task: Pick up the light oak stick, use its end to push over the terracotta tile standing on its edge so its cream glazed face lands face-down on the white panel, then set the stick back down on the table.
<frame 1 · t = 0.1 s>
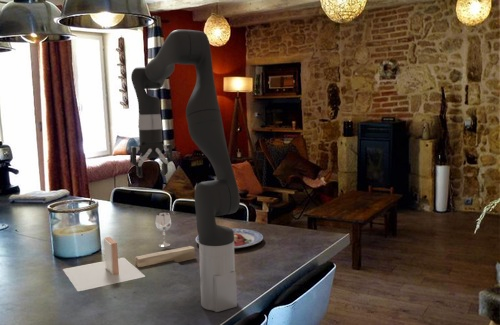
hand: (152, 176, 160), 29 cm above the table, tool pointing down, fingers open, 8 cm apart
white panel: (103, 275, 149), on the table
oak stick: (166, 263, 160), on the table
ceramic plate: (229, 243, 182), on the table
tile: (112, 270, 150), point 1 cm above the table, touching white panel
wineglass: (164, 245, 179), on the table
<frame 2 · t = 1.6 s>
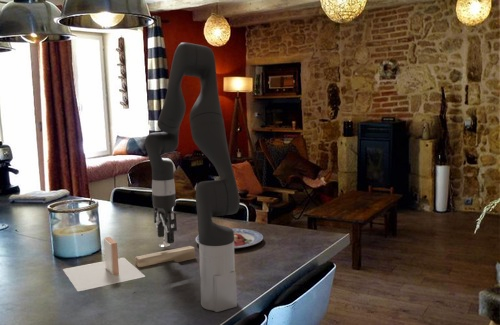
hand: (165, 239, 159), 8 cm above the table, tool pointing down, fingers open, 8 cm apart
nothing on the table moved.
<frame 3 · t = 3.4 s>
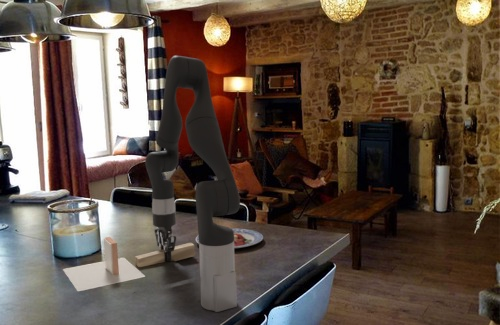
hand: (166, 260, 160), 1 cm above the table, tool pointing down, fingers closed on oak stick, 2 cm apart
oak stick: (166, 261, 160), on the table, touching gripper
everything else where it was.
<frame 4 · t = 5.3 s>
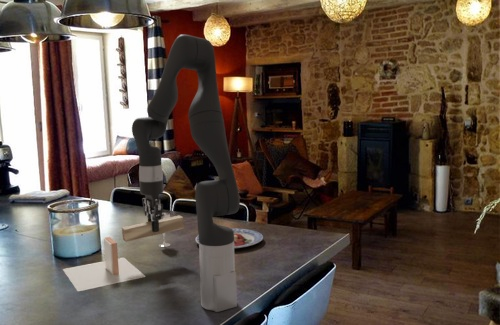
hand: (153, 230, 156), 12 cm above the table, tool pointing down, fingers closed on oak stick, 3 cm apart
oak stick: (154, 233, 156), point 11 cm above the table, touching gripper
everything else where it was.
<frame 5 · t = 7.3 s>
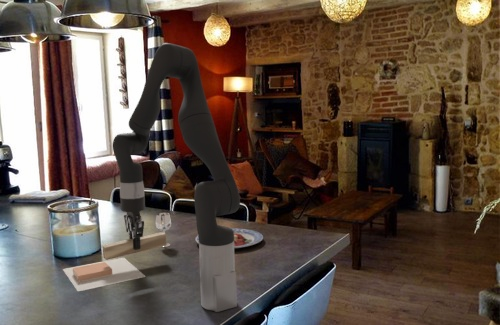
hand: (135, 247, 153), 7 cm above the table, tool pointing down, fingers closed on oak stick, 3 cm apart
oak stick: (135, 251, 154), point 6 cm above the table, touching gripper
tile: (108, 267, 149), point 2 cm above the table, tilted 90°, touching white panel
everything else where it was.
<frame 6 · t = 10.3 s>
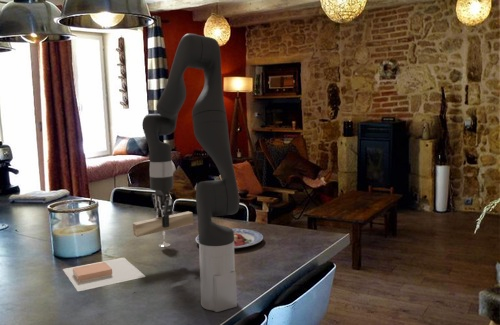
hand: (163, 225, 158), 13 cm above the table, tool pointing down, fingers closed on oak stick, 3 cm apart
oak stick: (164, 229, 158), point 12 cm above the table, touching gripper
everything else where it was.
when the fingers open (3 cm above the table, at t = 12.9 s): oak stick drops 2 cm, on the table.
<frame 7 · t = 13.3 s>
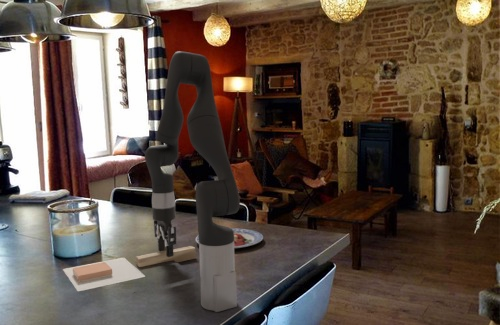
hand: (165, 253, 159), 3 cm above the table, tool pointing down, fingers open, 6 cm apart
oak stick: (166, 263, 160), on the table
everything else where it was.
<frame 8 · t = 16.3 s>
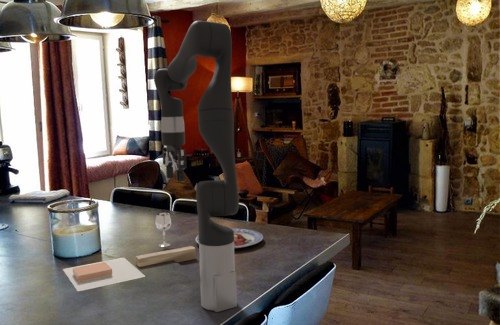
hand: (175, 179, 157), 28 cm above the table, tool pointing down, fingers open, 8 cm apart
nothing on the table moved.
at the end: tile tilted 90°; oak stick inside the target area (0.2 cm from its centre), on the table; the gripper is holding nothing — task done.
